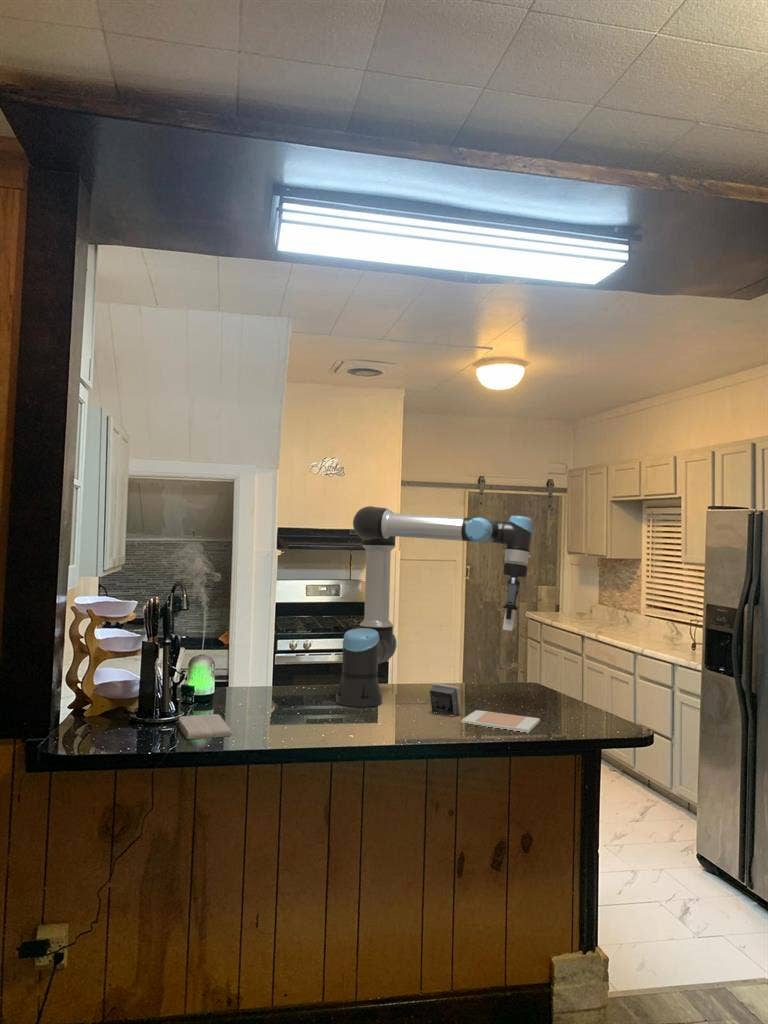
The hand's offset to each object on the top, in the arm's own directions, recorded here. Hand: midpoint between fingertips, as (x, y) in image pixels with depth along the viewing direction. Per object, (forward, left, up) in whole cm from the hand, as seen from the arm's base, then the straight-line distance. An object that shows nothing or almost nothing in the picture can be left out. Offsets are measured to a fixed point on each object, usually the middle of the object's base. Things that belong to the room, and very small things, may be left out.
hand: (507, 629), depth 229 cm
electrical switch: (-16, -13, -26) cm, 33 cm away
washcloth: (-67, -66, -27) cm, 98 cm away
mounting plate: (+2, -14, -26) cm, 30 cm away
